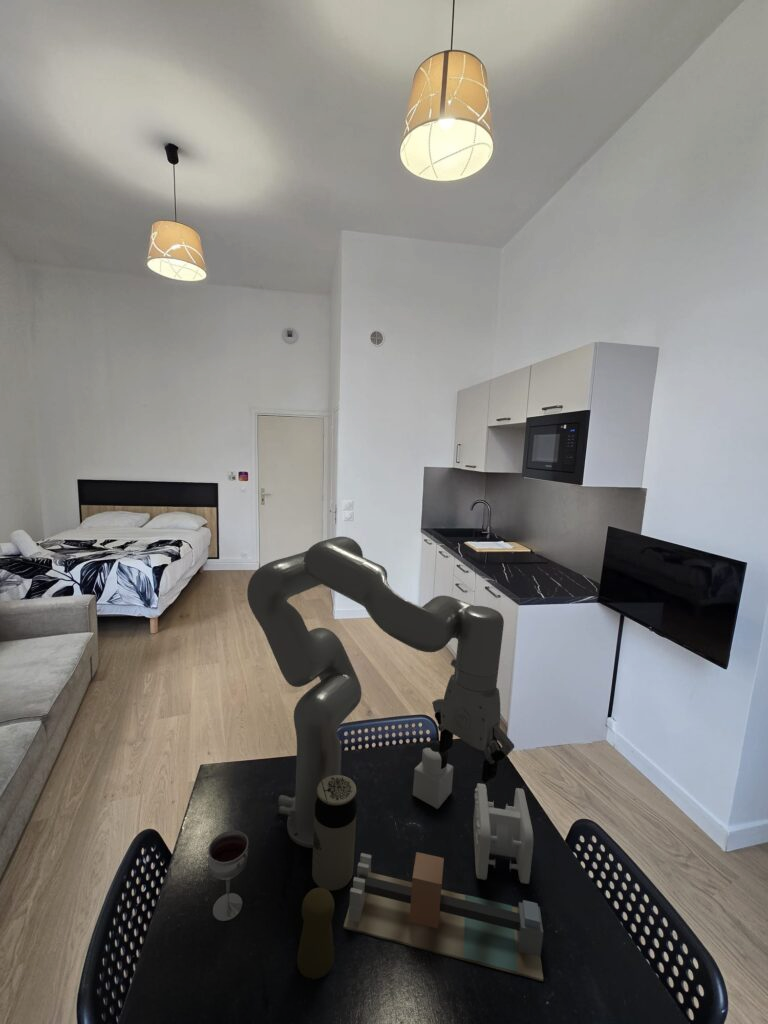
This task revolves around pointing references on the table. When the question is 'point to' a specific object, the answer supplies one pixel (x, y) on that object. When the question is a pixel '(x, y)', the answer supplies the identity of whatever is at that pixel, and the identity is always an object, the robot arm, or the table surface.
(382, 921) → the board
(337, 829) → the travel mug
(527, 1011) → the table surface
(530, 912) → the connector
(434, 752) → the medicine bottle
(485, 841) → the cable organizer
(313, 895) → the yellow peg figure
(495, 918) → the dark grey bar
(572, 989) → the table surface
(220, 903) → the wineglass
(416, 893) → the brown rectangular block
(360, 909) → the cable comb
